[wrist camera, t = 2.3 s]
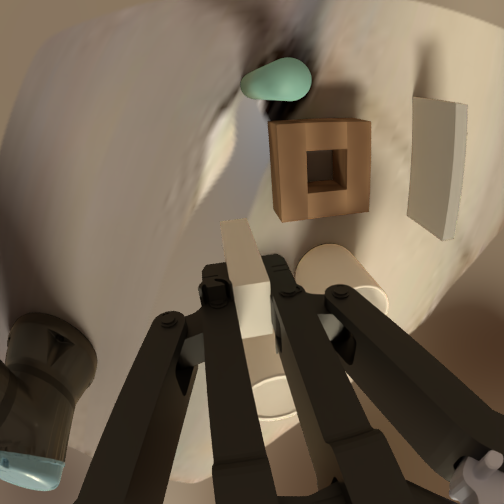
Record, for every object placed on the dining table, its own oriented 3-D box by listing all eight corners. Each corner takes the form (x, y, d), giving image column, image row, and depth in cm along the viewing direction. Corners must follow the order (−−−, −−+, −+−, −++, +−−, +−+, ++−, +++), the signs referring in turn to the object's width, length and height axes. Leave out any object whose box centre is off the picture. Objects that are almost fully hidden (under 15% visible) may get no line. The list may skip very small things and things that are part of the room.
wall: (406, 215, 40) (442, 241, 33) (412, 96, 32) (455, 102, 25) (418, 214, 40) (453, 239, 33) (424, 98, 32) (467, 104, 25)
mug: (282, 378, 50) (298, 430, 41) (221, 379, 48) (228, 434, 39) (304, 315, 45) (330, 370, 35) (233, 313, 42) (244, 372, 33)
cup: (342, 230, 39) (381, 271, 30) (364, 296, 45) (397, 341, 36) (283, 261, 40) (308, 310, 31) (315, 322, 46) (339, 373, 37)
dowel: (241, 100, 30) (268, 102, 19) (239, 72, 29) (264, 58, 18) (270, 98, 31) (312, 100, 19) (268, 70, 29) (309, 57, 18)
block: (273, 209, 36) (282, 222, 33) (267, 121, 32) (276, 124, 28) (353, 200, 38) (368, 211, 34) (353, 118, 33) (371, 121, 29)
